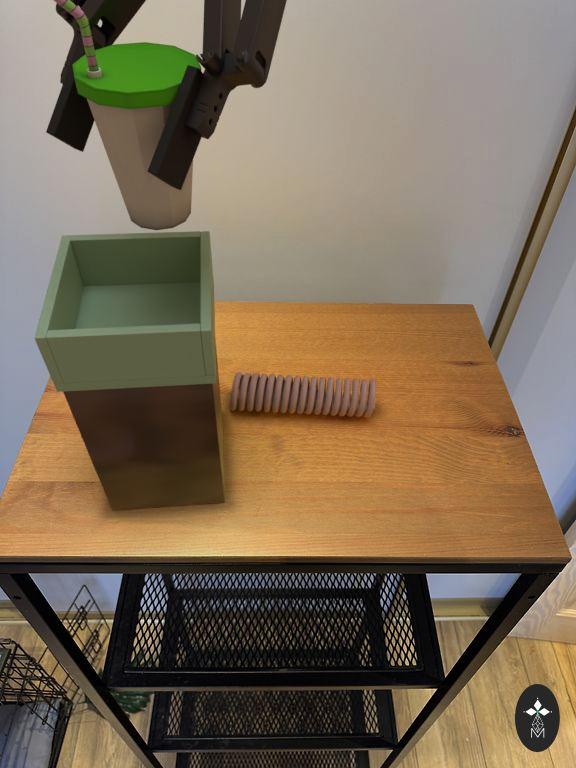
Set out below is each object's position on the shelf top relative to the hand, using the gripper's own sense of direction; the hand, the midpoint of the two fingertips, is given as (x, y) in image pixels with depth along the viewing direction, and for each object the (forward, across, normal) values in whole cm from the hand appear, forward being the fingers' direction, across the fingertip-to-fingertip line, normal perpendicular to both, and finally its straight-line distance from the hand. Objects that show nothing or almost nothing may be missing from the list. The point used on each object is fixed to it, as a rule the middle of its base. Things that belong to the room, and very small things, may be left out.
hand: (113, 160), depth 37 cm
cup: (+2, 0, -6) cm, 7 cm away
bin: (+11, +2, -12) cm, 17 cm away
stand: (+26, +2, -26) cm, 37 cm away
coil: (+15, -7, -37) cm, 41 cm away
